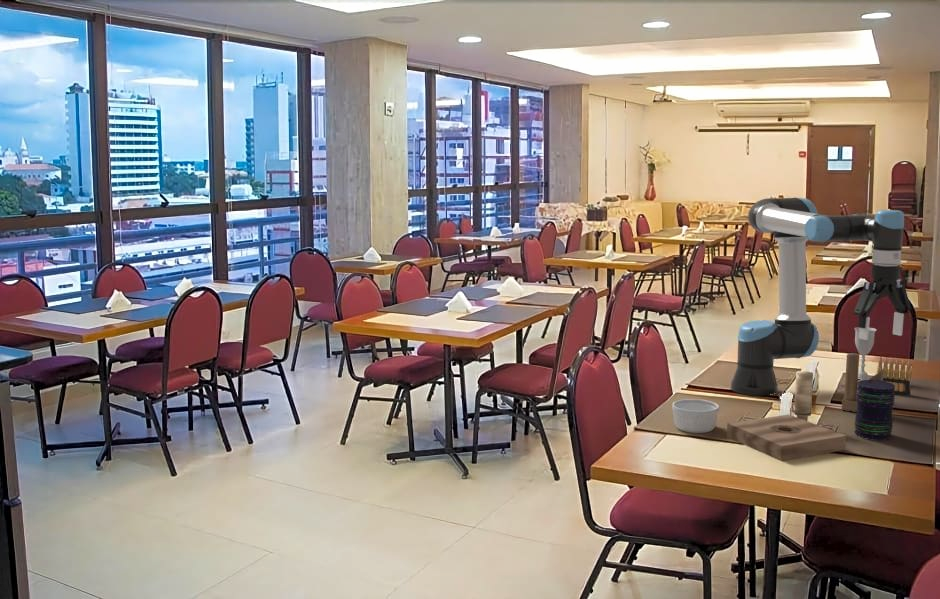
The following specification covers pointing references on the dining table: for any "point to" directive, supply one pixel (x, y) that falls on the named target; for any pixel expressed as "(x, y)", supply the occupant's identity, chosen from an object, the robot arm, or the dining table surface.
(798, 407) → the beech leg
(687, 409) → the ramekin
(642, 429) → the dining table surface
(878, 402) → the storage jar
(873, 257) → the robot arm
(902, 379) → the ammunition clip
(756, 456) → the dining table surface
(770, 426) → the walnut board
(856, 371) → the wooden peg block
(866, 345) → the chalice
